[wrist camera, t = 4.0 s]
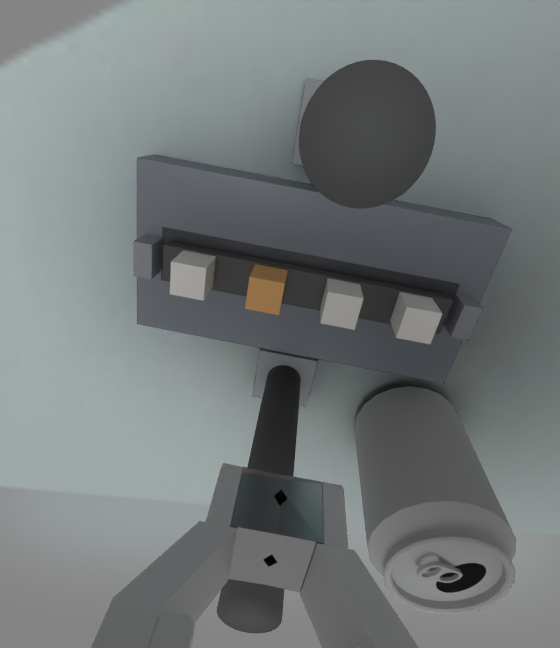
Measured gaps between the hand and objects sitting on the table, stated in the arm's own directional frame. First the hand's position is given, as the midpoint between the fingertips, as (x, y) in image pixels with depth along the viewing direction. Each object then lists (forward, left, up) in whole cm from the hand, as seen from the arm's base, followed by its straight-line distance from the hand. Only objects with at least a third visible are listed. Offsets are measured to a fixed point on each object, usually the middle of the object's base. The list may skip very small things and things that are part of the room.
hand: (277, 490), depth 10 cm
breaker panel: (0, 0, -17) cm, 17 cm away
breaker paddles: (0, 0, -14) cm, 14 cm away
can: (-10, +10, -18) cm, 23 cm away
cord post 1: (0, +8, -17) cm, 19 cm away
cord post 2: (0, -8, -17) cm, 19 cm away
